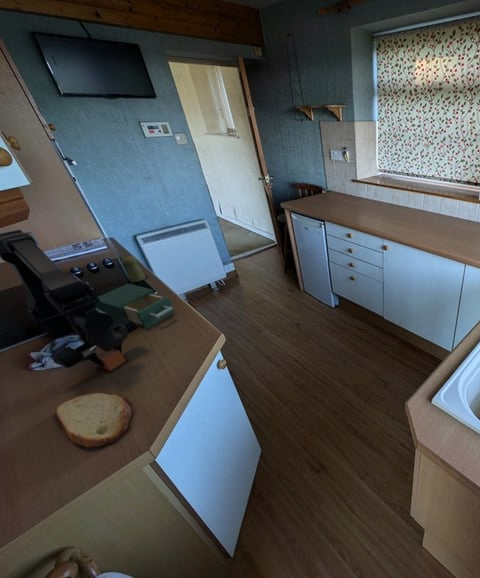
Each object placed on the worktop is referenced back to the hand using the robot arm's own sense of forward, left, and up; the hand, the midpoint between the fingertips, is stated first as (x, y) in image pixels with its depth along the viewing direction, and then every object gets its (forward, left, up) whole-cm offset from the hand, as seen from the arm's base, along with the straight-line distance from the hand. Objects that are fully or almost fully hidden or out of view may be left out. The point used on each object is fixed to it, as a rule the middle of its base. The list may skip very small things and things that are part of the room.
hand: (111, 361), depth 89 cm
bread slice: (-15, -16, -1) cm, 22 cm away
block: (0, 0, -1) cm, 1 cm away
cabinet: (+21, +22, -1) cm, 30 cm away
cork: (+41, +48, -1) cm, 63 cm away
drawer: (+21, +11, 0) cm, 24 cm away
